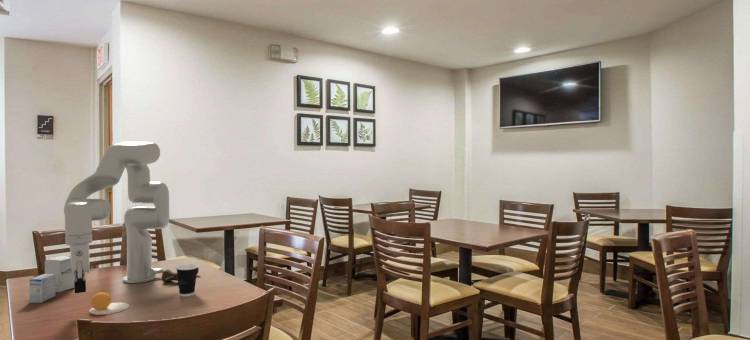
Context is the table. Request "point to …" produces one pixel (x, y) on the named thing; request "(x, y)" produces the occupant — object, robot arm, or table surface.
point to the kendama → (171, 275)
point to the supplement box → (61, 272)
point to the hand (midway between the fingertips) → (80, 291)
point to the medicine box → (42, 288)
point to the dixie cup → (186, 279)
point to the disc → (110, 309)
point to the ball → (100, 301)
